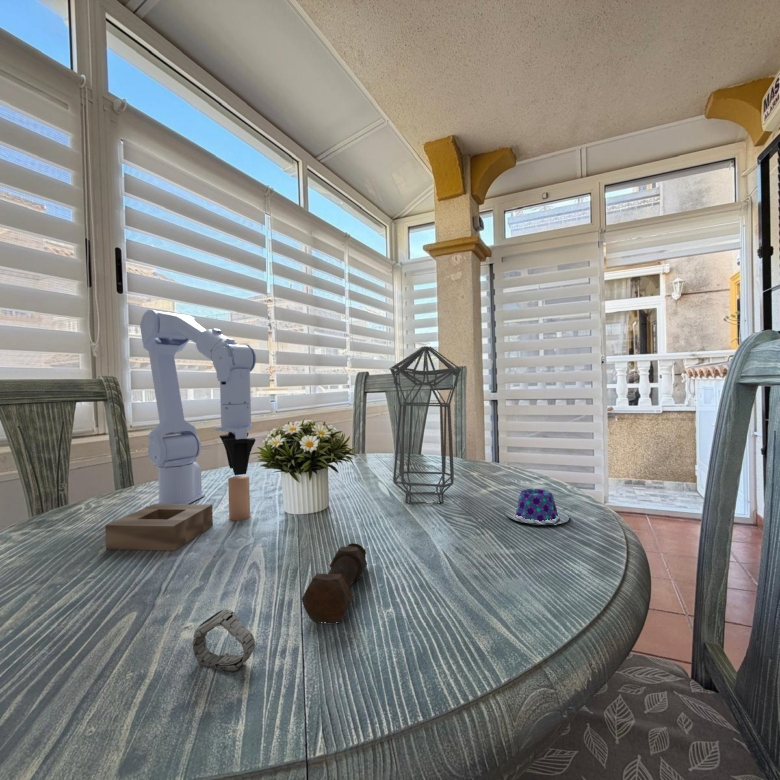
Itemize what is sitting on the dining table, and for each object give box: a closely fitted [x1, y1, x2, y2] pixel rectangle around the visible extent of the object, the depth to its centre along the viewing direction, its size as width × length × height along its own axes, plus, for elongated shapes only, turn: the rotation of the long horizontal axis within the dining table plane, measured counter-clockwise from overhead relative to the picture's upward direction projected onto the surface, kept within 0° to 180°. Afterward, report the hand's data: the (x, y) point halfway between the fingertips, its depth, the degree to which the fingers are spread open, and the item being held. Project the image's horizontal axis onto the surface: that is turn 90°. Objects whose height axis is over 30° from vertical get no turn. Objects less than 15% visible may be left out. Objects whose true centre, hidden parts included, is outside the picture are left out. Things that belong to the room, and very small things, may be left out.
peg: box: [227, 475, 251, 522], centre depth 84 cm, size 4×4×8 cm
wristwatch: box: [192, 608, 256, 672], centre depth 40 cm, size 4×6×5 cm, turn 73°
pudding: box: [516, 488, 558, 521], centre depth 80 cm, size 12×12×5 cm
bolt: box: [301, 542, 368, 624], centre depth 54 cm, size 6×5×15 cm
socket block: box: [104, 503, 214, 552], centre depth 74 cm, size 12×12×4 cm
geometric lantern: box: [388, 345, 462, 504], centre depth 95 cm, size 16×16×35 cm
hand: (237, 471), depth 84 cm, fingers open, 7 cm apart
